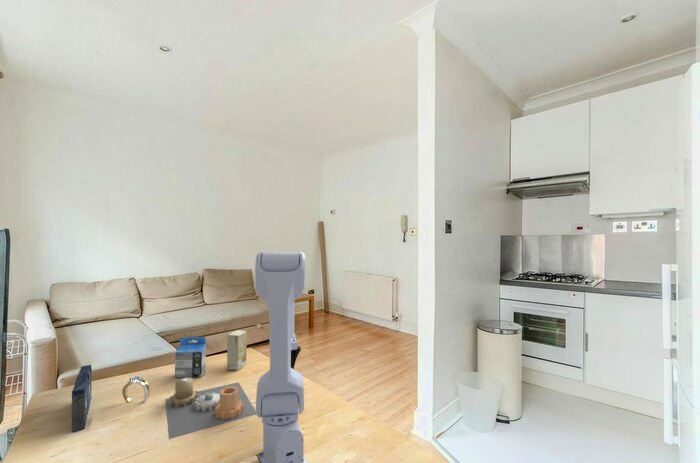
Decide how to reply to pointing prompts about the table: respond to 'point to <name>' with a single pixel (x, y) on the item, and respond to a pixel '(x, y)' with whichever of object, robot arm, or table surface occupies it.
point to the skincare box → (236, 350)
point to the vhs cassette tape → (81, 398)
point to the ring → (139, 381)
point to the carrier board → (199, 408)
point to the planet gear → (229, 403)
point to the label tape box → (190, 357)
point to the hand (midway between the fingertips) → (283, 368)
